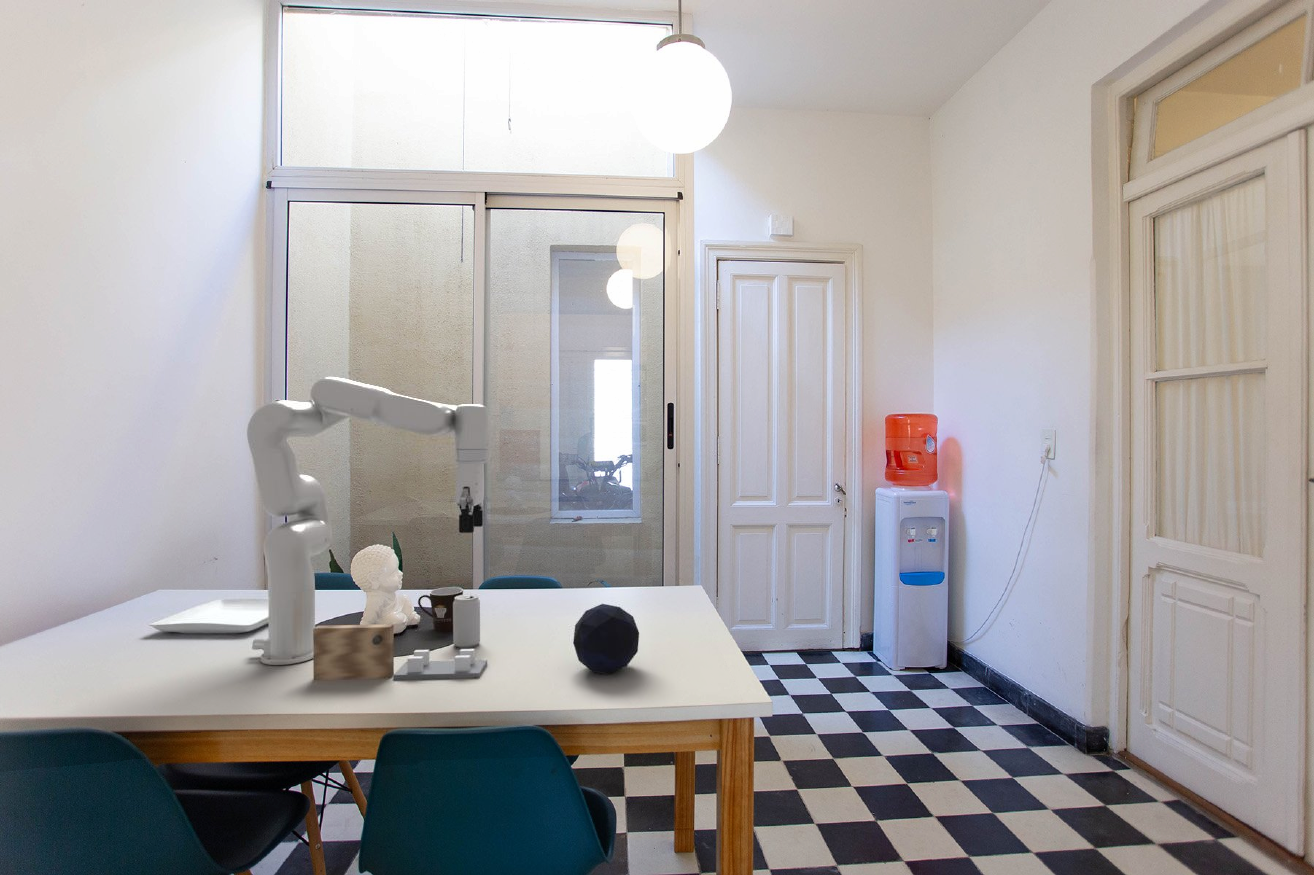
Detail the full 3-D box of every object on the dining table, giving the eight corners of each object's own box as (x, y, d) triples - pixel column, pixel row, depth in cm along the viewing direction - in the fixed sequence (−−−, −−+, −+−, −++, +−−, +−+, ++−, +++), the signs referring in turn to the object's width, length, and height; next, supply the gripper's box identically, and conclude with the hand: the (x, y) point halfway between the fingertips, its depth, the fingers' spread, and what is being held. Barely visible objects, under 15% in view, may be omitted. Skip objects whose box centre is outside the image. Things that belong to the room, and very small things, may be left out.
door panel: (310, 682, 134) (310, 630, 134) (318, 676, 137) (317, 625, 137) (388, 680, 135) (388, 628, 135) (393, 675, 138) (393, 624, 138)
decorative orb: (561, 636, 147) (571, 594, 138) (622, 628, 153) (635, 587, 144) (574, 692, 136) (587, 649, 128) (639, 681, 142) (655, 640, 134)
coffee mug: (470, 626, 172) (470, 589, 172) (444, 635, 165) (444, 596, 165) (441, 620, 179) (441, 584, 179) (415, 628, 171) (415, 590, 171)
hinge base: (393, 679, 135) (393, 660, 135) (406, 666, 143) (406, 648, 143) (479, 677, 136) (479, 659, 136) (487, 664, 144) (487, 646, 144)
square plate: (251, 638, 164) (251, 623, 164) (146, 638, 164) (146, 623, 164) (309, 610, 191) (309, 597, 191) (219, 609, 192) (219, 596, 192)
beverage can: (472, 649, 154) (472, 600, 154) (448, 648, 155) (448, 599, 155) (484, 641, 160) (484, 593, 160) (461, 640, 161) (461, 592, 161)
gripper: (464, 455, 158) (463, 524, 158) (445, 458, 141) (445, 535, 141) (494, 455, 159) (494, 524, 159) (479, 458, 141) (479, 535, 141)
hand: (471, 529), depth 150 cm, fingers open, 9 cm apart
